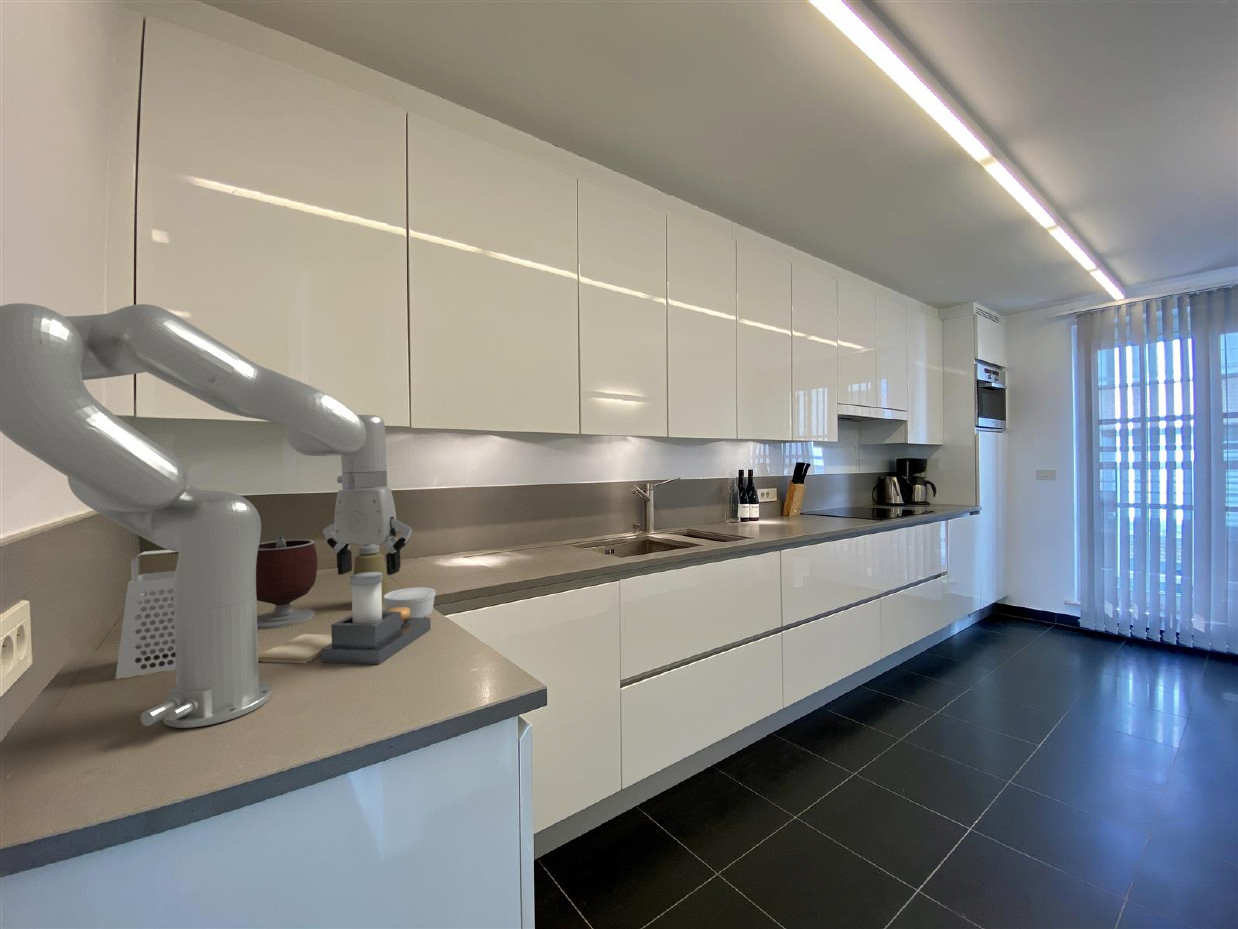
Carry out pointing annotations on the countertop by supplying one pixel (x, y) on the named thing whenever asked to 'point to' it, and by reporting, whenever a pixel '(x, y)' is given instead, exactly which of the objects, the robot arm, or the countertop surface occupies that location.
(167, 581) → the grater
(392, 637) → the housing
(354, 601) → the cylinder
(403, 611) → the orange rounded lump
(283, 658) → the mat
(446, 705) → the countertop surface
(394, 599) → the ramekin
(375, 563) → the squeeze bottle
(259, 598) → the mate gourd
